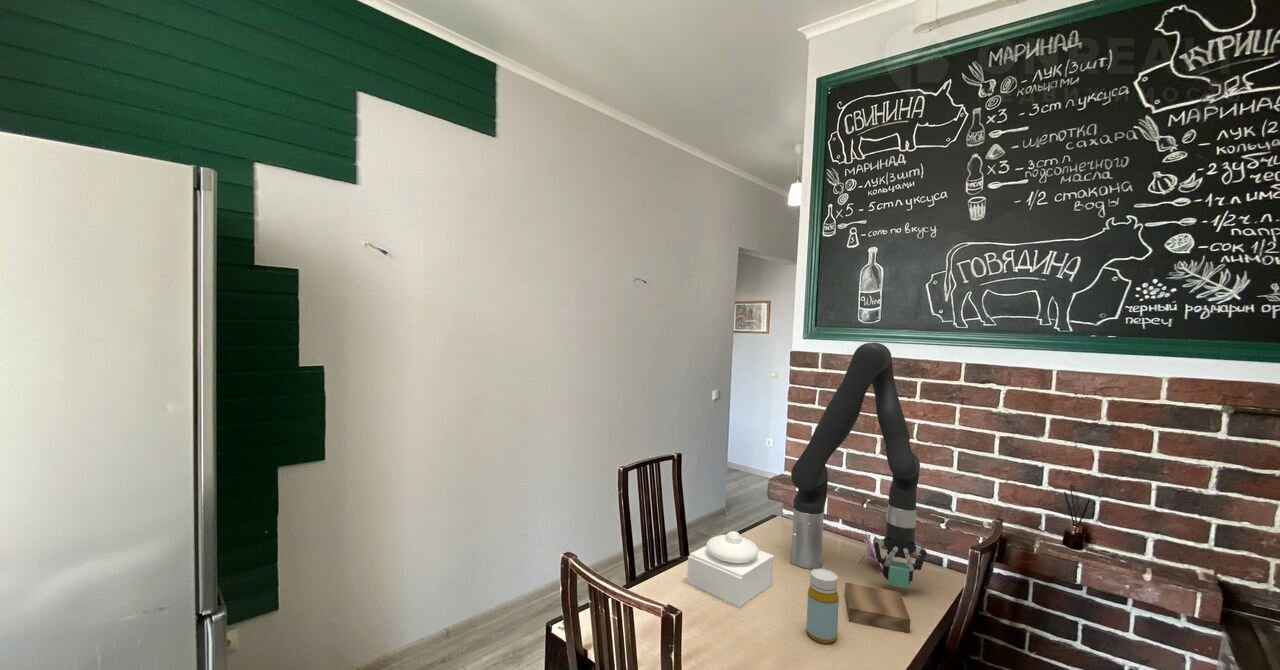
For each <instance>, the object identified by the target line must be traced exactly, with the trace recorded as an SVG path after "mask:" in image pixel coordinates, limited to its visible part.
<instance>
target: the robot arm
mask: <svg viewBox="0 0 1280 670" xmlns="http://www.w3.org/2000/svg"><path fill="white" fill-rule="evenodd" d="M894 375H895V373H894V367H893V359H892V353H891V351H890V349H889V348H888V346H885V344H882V343H880V342H866V343H862V344H860V346H858V347H857V348H856V349H855V351H854V352H853V355H852V357H851V360H850V363H849V365H848V367H847V370H846V373H845V374H844V377H843V379H842V381H841V382H840V385H839V386H838V387H837V389H836V391H835V392H834V394H833V395H832V398H831V399H830V401H829V403H828V404H827V406H826V408H825V410H824V412H823V414H822V416H821V417H820V419H819V421H818V424H817V425H816V427H815V429H814V431H813V433H812V436H811V437H810V440H809V442H808V444H807V446H806V447H805V449H804V451H803V452H802V453H801V455H800V456H799V457H798V459H797V461H796V462H795V463H794V465H793V466H792V469H791V471H790V472H791V473H790V477H791V482H792V484H793V485H794V487H796V489H798V490H797V493H796V494H795V496H794V499H793V510H792V513H793V514H792V516H793V517H792V531H791V534H792V535H791V536H792V537H791V556H790V557H791V560H790V564H791V565H795V566H798V567H800V568H802V569H803V568H804V569H808V570H809V569H810V570H813V569H820V568H821V567H822V560H823V537H824V534H823V533H824V514H825V513H824V511H825V505H826V501H827V498H828V497H827V496H828V484H829V483H828V481H829V475H828V469H827V466H826V465H827V463H828V461H829V459H830V458H831V456H832V455H833V454H834V453H835V451H836V450H838V448H839V447H840V446H841V444H842V443H844V442H845V440H846V439H847V438H848V436H849V435H850V433H851V431H852V430H853V428H854V426H855V424H856V423H857V421H858V419H859V416H860V414H861V410H862V408H863V403H864V399H865V396H866V394H867V392H868V390H869V388H870V387H871V386H872V389H873V392H874V393H873V394H874V399H875V409H876V416H877V417H876V418H877V420H878V421H877V422H878V426H879V428H880V433H881V435H882V438H883V442H884V447H885V454H886V459H887V463H888V467H889V469H890V472H891V473H892V481H891V484H890V487H889V491H888V492H889V493H888V503H887V504H888V505H887V510H886V515H885V517H886V519H885V521H886V522H885V534H884V535H885V536H884V538H883V539H882V540H877V539H873V540H872V542H873V543H872V544H873V546H874V549H875V554H876V559H877V560H876V562H877V563H878V564H879V563H881V565H882V567H883V569H882V568H881V571H882V576H883V577H884V579H885V580H887V579H888V574H889V564H890V562H891V561H893V559H894V558H900V559H905V561H906V562H905V563H906V564H907V567H908V569H909V584H911V583H913V580H914V579H913V578H914V571H921V570H922V568H923V564H924V563H925V559H926V556H927V550H926V549H925V547H923V546H921V547H920V546H917V545H916V542H915V541H916V529H917V500H918V499H917V498H918V497H917V491H918V483H919V477H920V472H921V463H920V459H919V458H918V456H917V455H916V454H915V453H914V452H912V447H911V443H910V442H911V441H910V439H911V437H910V432H909V429H908V428H909V427H908V425H907V421H906V417H905V415H904V412H903V409H902V405H901V401H900V399H899V395H898V389H897V386H896V381H895V376H894ZM883 546H884V547H885V549H886V552H885V554H884V557H882V553H881V550H882V548H883ZM914 552H916V555H917V556H916V558H915V561H914V562H912V558H911V555H912V554H913V553H914ZM881 557H882V558H881Z"/></svg>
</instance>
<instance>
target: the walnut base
mask: <svg viewBox="0 0 1280 670" xmlns="http://www.w3.org/2000/svg"><path fill="white" fill-rule="evenodd" d="M844 600H845V605H846V606H845V607H846V612H847V619H848V622H849V623H853V624H858V625H864V626H869V627H873V628H877V629H878V628H879V629H883V630H888V631H894V632H898V633H903V632H904V634H908V633H910V634H911V616H910V615H909V612H908V609H907V607H906V605H905V602H904V598H903V596H902V594H901V592H900V591H894V590H890V589H885V588H879V587H874V586H867V585H862V584H856V583H853V582H852V583H850V582H845V581H844Z"/></svg>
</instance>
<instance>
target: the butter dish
mask: <svg viewBox="0 0 1280 670" xmlns="http://www.w3.org/2000/svg"><path fill="white" fill-rule="evenodd" d="M774 559H775V555H774V554H771V553H768V552H765V551H762V550H760V549H759V548H758V546H757V545H756V544H755V543H754V542H753V541H751V540H750V539H748V538H745V537H743V536H741V534H740V533H739V532H738V531H734V530H731V531H730V532H727V534H720V535H715V536H714V537H711V538H710V539H709V540H708V541H707V543H706V545H705V546H702V547H701V548H699V549H697V550H694V551H693V552H690V553H689V555H688V556H687V573H686V575H687V578H686V580H687V581H686V582H687V585H689V586H691V587H693V588H695V589H697V588H698V590H699V591H701V590H702V592H704V593H706V594H708V595H710V596H711V597H715V598H716V597H717V598H716V599H719V600H720V601H723V602H725V601H726V602H725V603H727V604H729V603H730V604H729V605H731V604H732V605H731V606H733V605H734V607H735V606H736V608H738V609H741V608H742V607H743V606H745V605H746V604H748V603H749V602H751V601H752V600H753V599H755V598H756V597H757V596H759V595H760V594H761V592H762V593H763V592H765V591H766V590H767V589H768V588H771V586H772V585H773V560H774ZM764 590H765V591H764ZM758 594H759V595H758ZM755 596H756V597H755ZM754 597H755V598H754ZM751 599H752V600H751ZM747 602H748V603H747ZM744 604H745V605H744ZM740 607H741V608H740Z"/></svg>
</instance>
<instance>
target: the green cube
mask: <svg viewBox="0 0 1280 670" xmlns="http://www.w3.org/2000/svg"><path fill="white" fill-rule="evenodd" d="M886 581H887V583H888V585H889V586H894V587H898V588H903V589H904V588H905V589H909V569H908V566H907V562H902V561H895V560H892V561H891V562H890V564H889V574H888V579H886Z"/></svg>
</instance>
